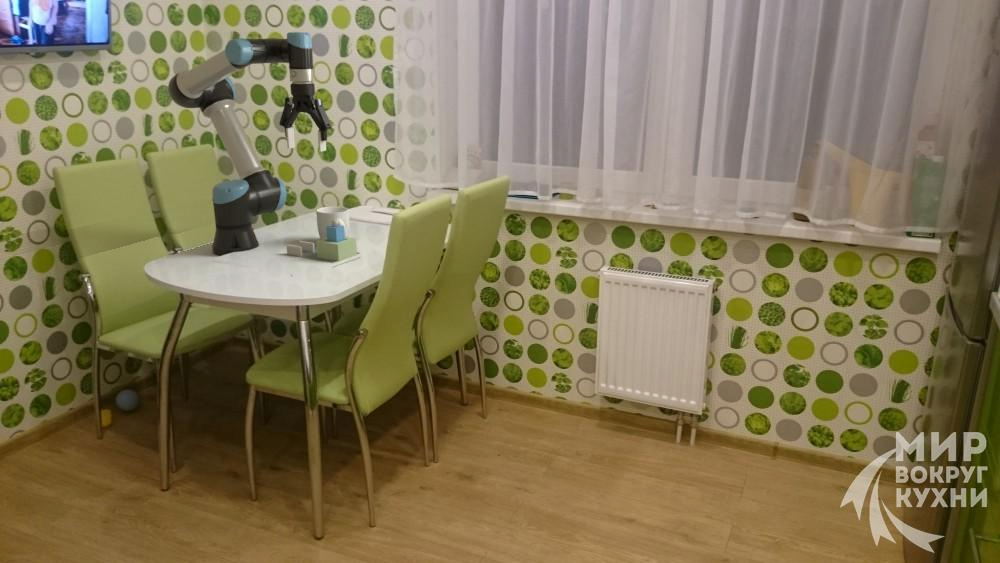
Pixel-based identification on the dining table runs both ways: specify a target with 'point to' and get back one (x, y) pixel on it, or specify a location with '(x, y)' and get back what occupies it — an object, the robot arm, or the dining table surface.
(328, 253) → the port
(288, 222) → the dining table surface
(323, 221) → the mug
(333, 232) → the plug
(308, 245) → the panel
